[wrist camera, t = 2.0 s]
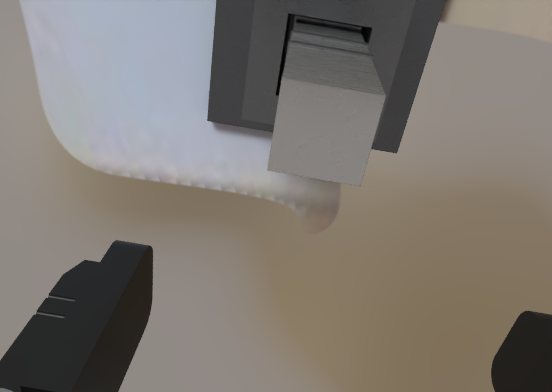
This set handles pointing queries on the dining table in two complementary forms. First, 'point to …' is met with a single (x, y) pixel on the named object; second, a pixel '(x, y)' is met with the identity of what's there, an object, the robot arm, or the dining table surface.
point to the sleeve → (273, 48)
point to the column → (326, 103)
